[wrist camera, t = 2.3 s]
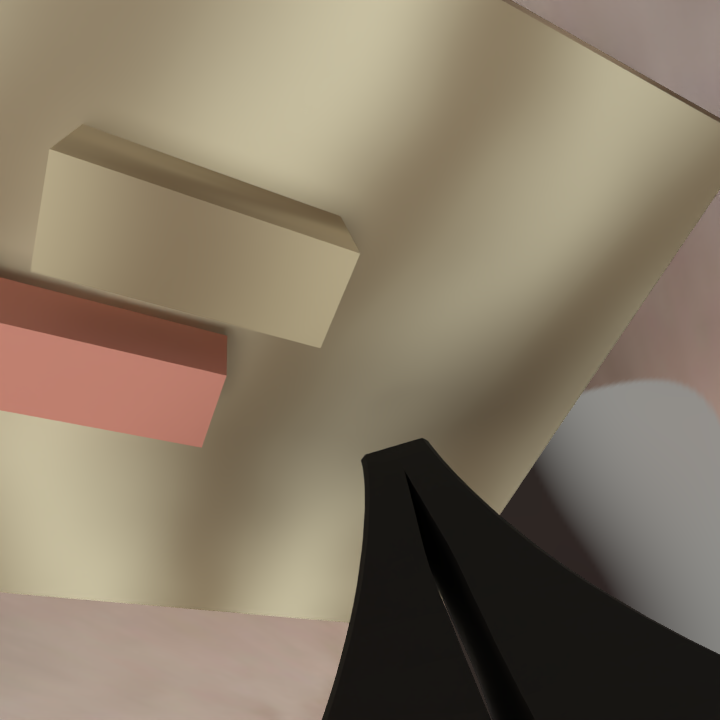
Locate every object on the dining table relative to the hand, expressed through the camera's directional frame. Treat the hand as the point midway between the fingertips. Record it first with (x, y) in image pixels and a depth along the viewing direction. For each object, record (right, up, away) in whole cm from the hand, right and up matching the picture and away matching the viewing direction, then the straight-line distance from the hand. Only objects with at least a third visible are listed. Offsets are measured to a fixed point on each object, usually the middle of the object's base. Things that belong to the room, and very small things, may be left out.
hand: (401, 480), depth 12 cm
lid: (-2, +3, +3) cm, 5 cm away
